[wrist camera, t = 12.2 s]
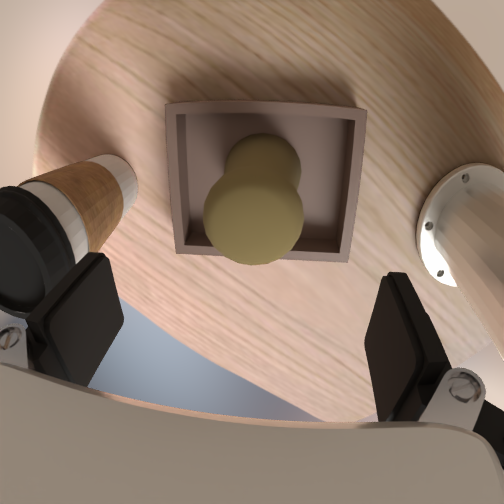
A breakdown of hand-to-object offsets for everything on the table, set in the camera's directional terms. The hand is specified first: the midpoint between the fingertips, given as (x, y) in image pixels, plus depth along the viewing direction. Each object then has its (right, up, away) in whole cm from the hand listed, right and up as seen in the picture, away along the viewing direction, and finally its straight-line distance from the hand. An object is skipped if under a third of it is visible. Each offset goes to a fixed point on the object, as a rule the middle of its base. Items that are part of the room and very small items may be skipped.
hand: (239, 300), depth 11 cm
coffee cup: (-12, +8, +17) cm, 22 cm away
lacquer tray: (+1, +8, +15) cm, 17 cm away
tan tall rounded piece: (+1, +8, +14) cm, 17 cm away
